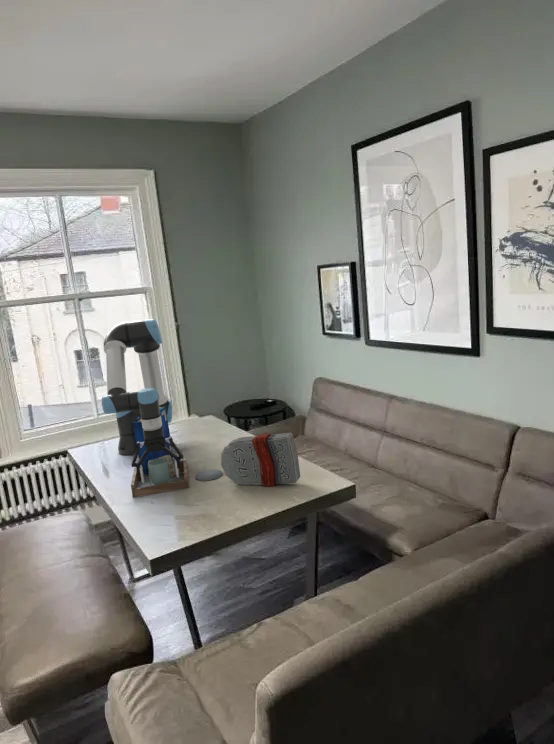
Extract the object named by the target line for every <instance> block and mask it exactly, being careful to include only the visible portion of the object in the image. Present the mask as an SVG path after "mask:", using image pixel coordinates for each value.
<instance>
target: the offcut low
mask: <svg viewBox="0 0 554 744" xmlns="http://www.w3.org/2000/svg"><path fill="white" fill-rule="evenodd" d="M175 476H176V471H175V470H172V471H170V478H172V477H175ZM148 478H149V482H151V479H150V475H148Z"/></svg>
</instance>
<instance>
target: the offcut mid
mask: <svg viewBox="0 0 554 744" xmlns="http://www.w3.org/2000/svg"><path fill="white" fill-rule="evenodd" d="M169 469H170V471H172V470H174V463H172V464H169ZM148 470H149V469H148ZM174 471H175V470H174Z"/></svg>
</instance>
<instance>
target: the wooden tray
mask: <svg viewBox="0 0 554 744" xmlns="http://www.w3.org/2000/svg"><path fill="white" fill-rule="evenodd" d="M142 469H143V467H142ZM188 470H189V469H188V463H187V459H183V460H182V459H181V460H180V468H179V469H178V473H179V474H183V477H184V480H177V481H176V480H175V481H171V482H170V481H169V483H164V484H158V485H153V484H152V485H147V486H146V485H145V486H142V487H138V486H139V482H140V481H142V480H141V475H138V473H137V468H136V467H133V472H132V477H131V482H130V488H131V495H132V498H137V497H138V498H139V497H143V496H149V495H155V494H161V493H166V492H167V493H168V492H171V491H172V492H173V491H178V490H183V489H189V488H190V482H189V480H190V479H189V471H188ZM143 475H144V470H143ZM145 476H146V475H144V480H145V479H146V477H145Z"/></svg>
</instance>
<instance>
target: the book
mask: <svg viewBox="0 0 554 744" xmlns="http://www.w3.org/2000/svg"><path fill="white" fill-rule="evenodd" d="M159 408H160V415H161V421H162V426H161V427H162V428H163V434H164V438H165V439H166V438H169V437H170V436H171V433H170V427H169V423H168V419H167V413H166V407H165V406H163V407H159ZM133 428H134V434H135V439H136V445H137V442H138V441H139V442H144V441H145V440H144V434H143V430H144V429H143V428H142V421H141V415H140V416H139V417H138V419H137V420H135V421H134V422H133ZM164 445H165V446H166V447H167V448H168V449H170V450H171V451H172V452H173V453H174V451H173V450H174V449H173V447H172V446H171V444H170V443H168V442H165V444H164ZM146 449H147V448H146V447H145V446H144V445H143V446H142V448H140V451H139V454H138V461H139V460H140V458H141V457H142V455H143V453H144V452H145V450H146ZM166 455H168V456H170V455H169V454H168V453H166V452H165V451H163V450H162V449H161V450H160V451H155V452H151V451H150V452H149V453H148V454H147V456H146V457H145V459H144V460H143V462H142V464H141V465H142V467H143V470H144V476H149V470H148V461H150V460H153V459H156V458H160V457H163V456H166ZM170 457H171V456H170ZM171 459H173V458H172V457H171ZM141 465H140V466H141Z"/></svg>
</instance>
